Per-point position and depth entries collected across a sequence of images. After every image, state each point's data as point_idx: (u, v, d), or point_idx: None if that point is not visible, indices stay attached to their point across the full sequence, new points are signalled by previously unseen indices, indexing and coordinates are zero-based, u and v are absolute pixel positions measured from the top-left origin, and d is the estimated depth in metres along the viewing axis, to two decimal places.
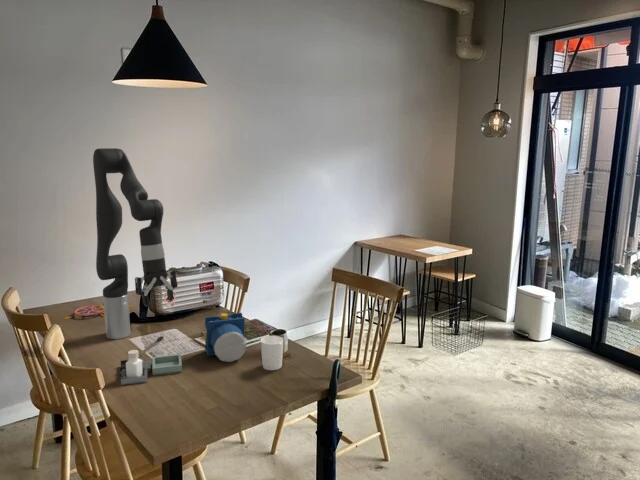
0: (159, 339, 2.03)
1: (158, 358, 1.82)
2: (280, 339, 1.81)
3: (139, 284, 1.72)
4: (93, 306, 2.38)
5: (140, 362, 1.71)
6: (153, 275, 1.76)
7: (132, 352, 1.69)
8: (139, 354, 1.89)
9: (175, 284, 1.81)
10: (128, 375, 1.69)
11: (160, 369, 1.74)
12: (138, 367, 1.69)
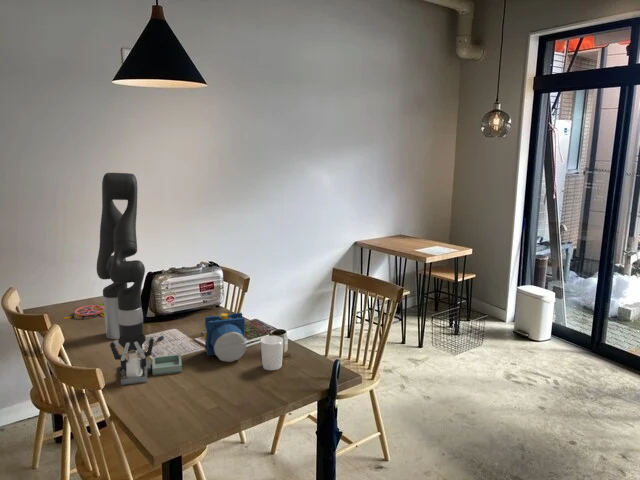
0: (159, 339, 2.03)
1: (158, 358, 1.82)
2: (280, 339, 1.81)
3: (113, 349, 1.66)
4: (93, 306, 2.38)
5: (140, 362, 1.71)
6: (128, 339, 1.67)
7: (132, 352, 1.69)
8: (139, 354, 1.89)
9: (148, 353, 1.70)
10: (128, 375, 1.69)
11: (160, 369, 1.74)
12: (138, 367, 1.69)
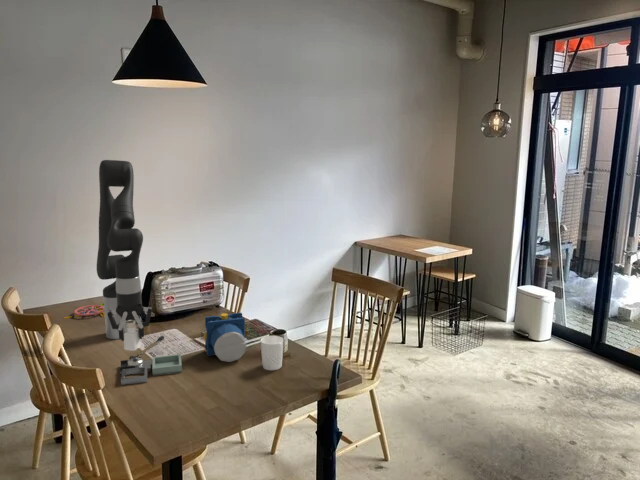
0: (160, 339, 2.03)
1: (158, 358, 1.82)
2: (280, 339, 1.81)
3: (110, 319, 1.64)
4: (93, 306, 2.38)
5: (138, 332, 1.69)
6: (125, 308, 1.65)
7: (130, 322, 1.67)
8: (140, 354, 1.90)
9: (146, 323, 1.68)
10: (126, 345, 1.67)
11: (160, 369, 1.74)
12: (136, 337, 1.68)
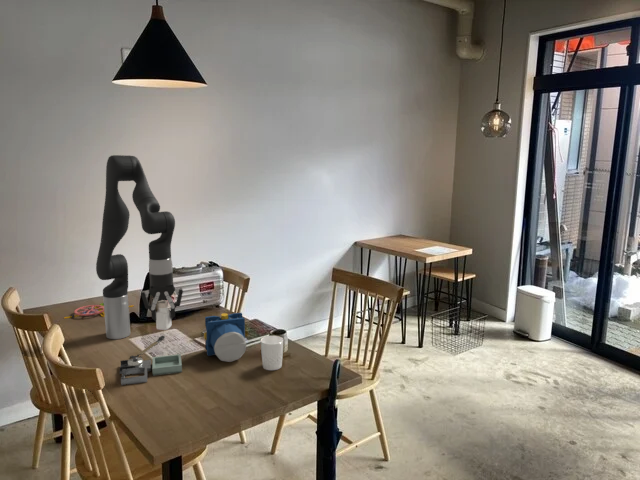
0: (160, 338, 2.04)
1: (158, 358, 1.82)
2: (280, 339, 1.81)
3: (144, 299, 1.71)
4: (93, 306, 2.38)
5: (169, 312, 1.75)
6: (158, 289, 1.72)
7: (162, 302, 1.73)
8: (140, 353, 1.90)
9: (177, 303, 1.75)
10: (158, 324, 1.74)
11: (160, 369, 1.74)
12: (167, 316, 1.74)
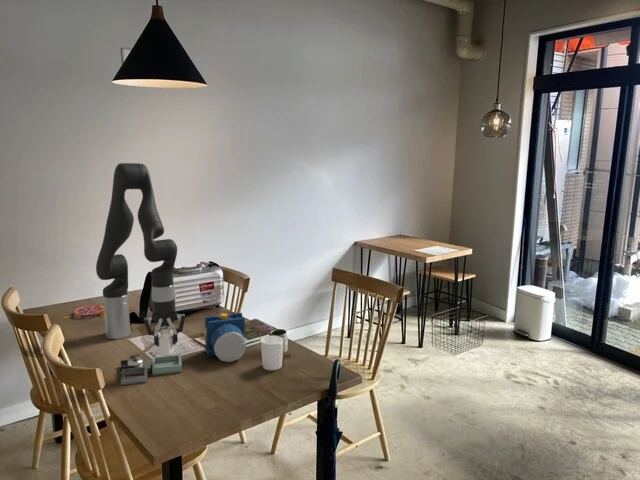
0: None
1: (158, 358, 1.82)
2: (280, 339, 1.81)
3: (146, 325, 1.73)
4: (93, 306, 2.38)
5: (172, 338, 1.77)
6: (160, 315, 1.74)
7: (165, 328, 1.75)
8: (140, 353, 1.90)
9: (180, 329, 1.77)
10: (160, 350, 1.76)
11: (160, 369, 1.74)
12: (170, 342, 1.76)
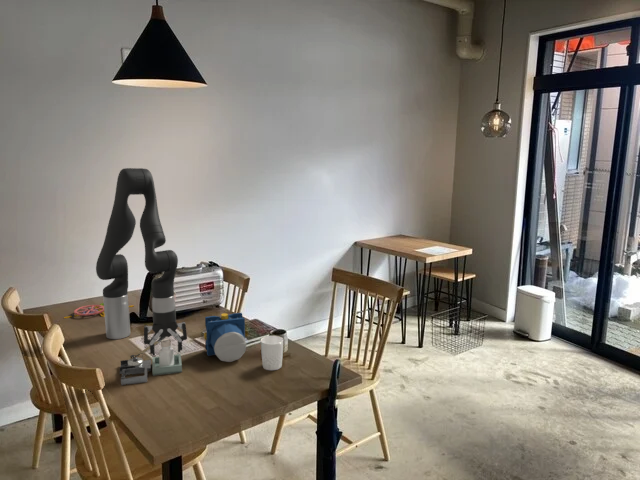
0: (161, 338, 2.04)
1: (158, 358, 1.82)
2: (280, 339, 1.81)
3: (145, 333, 1.73)
4: (93, 306, 2.38)
5: (172, 351, 1.78)
6: (161, 326, 1.75)
7: (165, 341, 1.76)
8: (140, 353, 1.90)
9: (184, 336, 1.78)
10: (161, 363, 1.77)
11: (160, 369, 1.74)
12: (170, 355, 1.77)
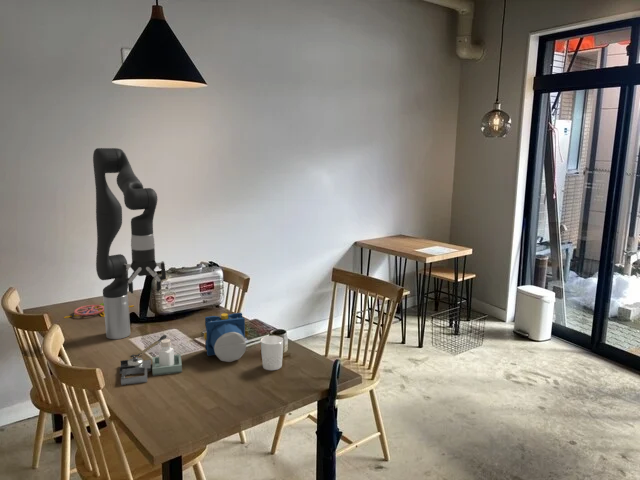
0: (162, 338, 2.04)
1: (158, 358, 1.82)
2: (280, 339, 1.81)
3: (123, 271, 1.74)
4: (94, 306, 2.38)
5: (172, 351, 1.78)
6: (140, 264, 1.75)
7: (165, 341, 1.76)
8: (141, 352, 1.90)
9: (163, 276, 1.78)
10: (161, 363, 1.77)
11: (160, 369, 1.74)
12: (170, 355, 1.77)
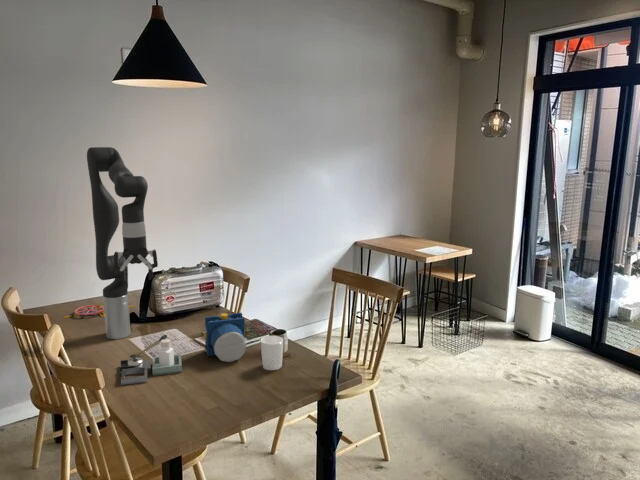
0: (162, 338, 2.04)
1: (158, 358, 1.82)
2: (280, 339, 1.81)
3: (115, 259, 1.75)
4: (94, 305, 2.38)
5: (172, 351, 1.78)
6: (131, 252, 1.76)
7: (165, 341, 1.76)
8: (141, 352, 1.91)
9: (155, 264, 1.79)
10: (161, 363, 1.77)
11: (160, 369, 1.74)
12: (170, 355, 1.77)
